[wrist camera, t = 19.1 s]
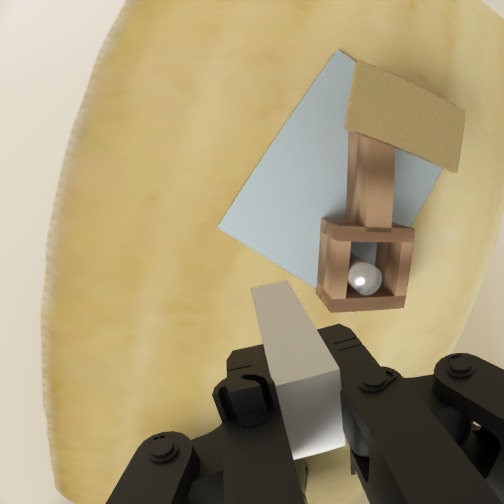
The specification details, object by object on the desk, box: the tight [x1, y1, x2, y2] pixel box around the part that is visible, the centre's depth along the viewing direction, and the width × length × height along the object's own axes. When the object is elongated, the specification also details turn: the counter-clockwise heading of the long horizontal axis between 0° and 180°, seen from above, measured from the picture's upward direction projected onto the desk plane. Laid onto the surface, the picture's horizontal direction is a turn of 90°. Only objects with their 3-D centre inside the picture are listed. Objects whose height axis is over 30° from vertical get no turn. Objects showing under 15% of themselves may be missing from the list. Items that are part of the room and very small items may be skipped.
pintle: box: [347, 251, 382, 295], centre depth 35 cm, size 3×3×8 cm
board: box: [217, 50, 443, 312], centre depth 36 cm, size 26×20×1 cm
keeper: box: [343, 60, 465, 173], centre depth 31 cm, size 7×13×10 cm, turn 77°
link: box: [316, 131, 414, 313], centre depth 34 cm, size 21×9×6 cm, turn 179°
